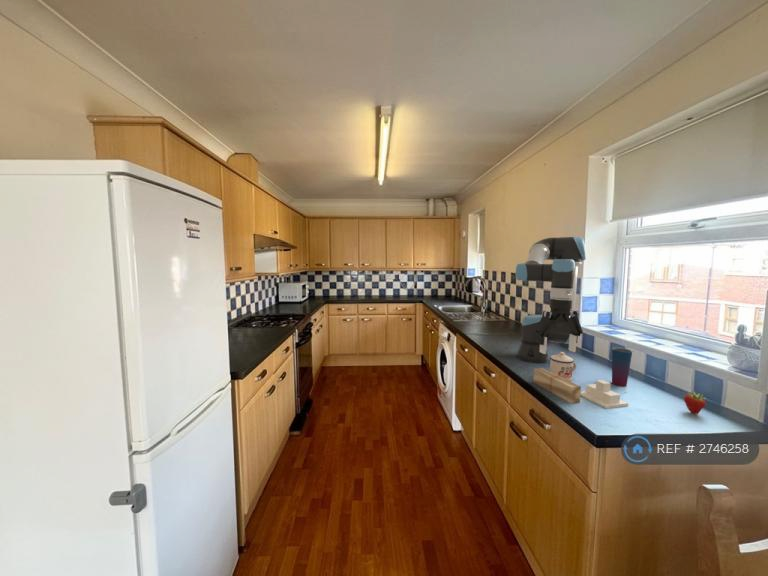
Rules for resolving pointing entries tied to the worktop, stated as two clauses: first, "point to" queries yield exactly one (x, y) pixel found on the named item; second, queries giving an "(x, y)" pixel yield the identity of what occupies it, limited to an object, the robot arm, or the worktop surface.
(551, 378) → the beam
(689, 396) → the fruit
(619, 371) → the cup
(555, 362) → the teacup with lid
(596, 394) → the fulcrum
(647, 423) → the worktop surface
